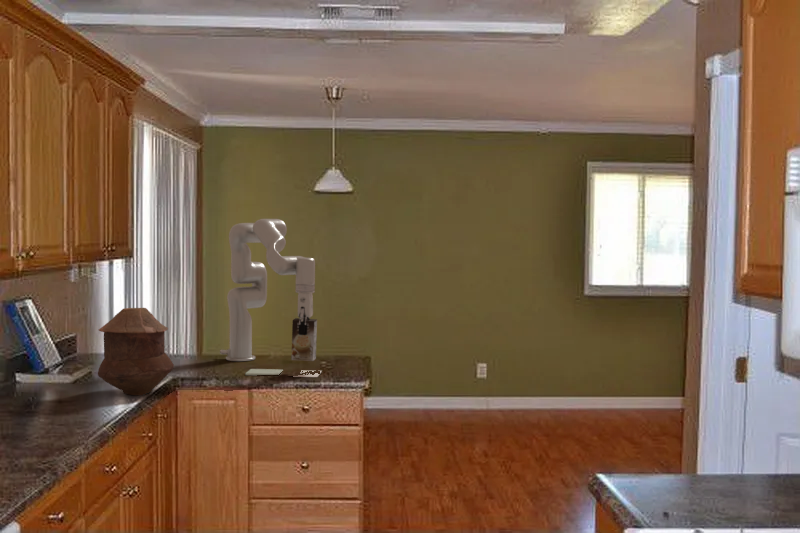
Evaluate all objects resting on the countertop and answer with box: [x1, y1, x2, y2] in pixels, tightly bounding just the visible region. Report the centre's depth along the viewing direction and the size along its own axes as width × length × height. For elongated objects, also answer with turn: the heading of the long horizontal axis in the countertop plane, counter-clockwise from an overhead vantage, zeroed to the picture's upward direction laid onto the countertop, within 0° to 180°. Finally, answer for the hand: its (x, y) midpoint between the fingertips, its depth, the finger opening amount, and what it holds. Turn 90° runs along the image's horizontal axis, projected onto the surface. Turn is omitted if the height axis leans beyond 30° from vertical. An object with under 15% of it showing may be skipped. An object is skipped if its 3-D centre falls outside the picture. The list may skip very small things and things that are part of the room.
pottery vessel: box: [97, 307, 175, 396], centre depth 307 cm, size 26×26×30 cm
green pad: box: [245, 368, 284, 376], centre depth 349 cm, size 13×10×1 cm
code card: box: [293, 369, 323, 378], centre depth 349 cm, size 12×14×1 cm
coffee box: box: [290, 317, 318, 362], centre depth 349 cm, size 9×6×16 cm
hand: (304, 333), depth 349 cm, fingers closed on coffee box, 6 cm apart
